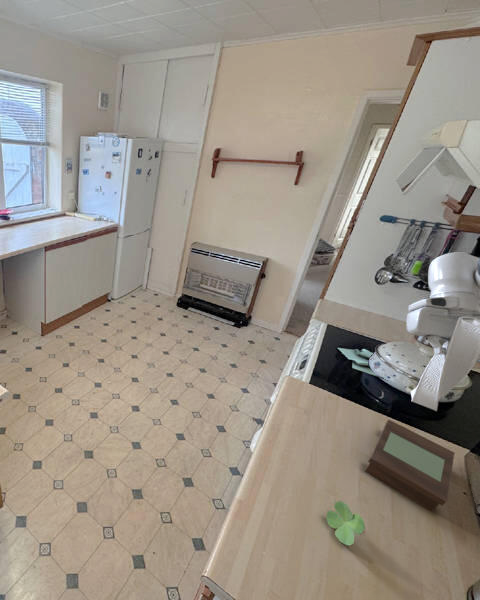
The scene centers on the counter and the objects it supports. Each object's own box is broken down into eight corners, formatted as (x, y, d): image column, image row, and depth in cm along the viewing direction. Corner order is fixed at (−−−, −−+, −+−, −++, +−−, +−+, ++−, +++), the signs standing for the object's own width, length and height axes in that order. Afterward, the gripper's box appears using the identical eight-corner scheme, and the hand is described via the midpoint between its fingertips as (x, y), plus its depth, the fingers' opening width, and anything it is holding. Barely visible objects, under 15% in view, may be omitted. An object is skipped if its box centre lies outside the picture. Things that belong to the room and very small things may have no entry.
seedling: (340, 542, 73) (325, 537, 71) (338, 503, 76) (324, 497, 74) (380, 556, 67) (366, 551, 65) (377, 513, 71) (363, 506, 68)
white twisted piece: (443, 416, 86) (514, 328, 74) (406, 402, 90) (468, 316, 78) (439, 401, 92) (504, 316, 79) (404, 388, 96) (462, 306, 83)
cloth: (404, 388, 117) (407, 383, 116) (333, 360, 130) (335, 355, 129) (403, 364, 131) (406, 359, 130) (339, 341, 144) (341, 337, 143)
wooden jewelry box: (380, 431, 98) (388, 419, 96) (443, 464, 88) (454, 452, 86) (361, 470, 85) (370, 457, 83) (434, 514, 76) (446, 501, 73)
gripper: (489, 319, 88) (495, 369, 84) (401, 305, 93) (403, 351, 89) (514, 312, 82) (522, 365, 78) (419, 297, 87) (422, 346, 83)
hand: (458, 357), depth 83 cm, fingers closed on white twisted piece, 6 cm apart
